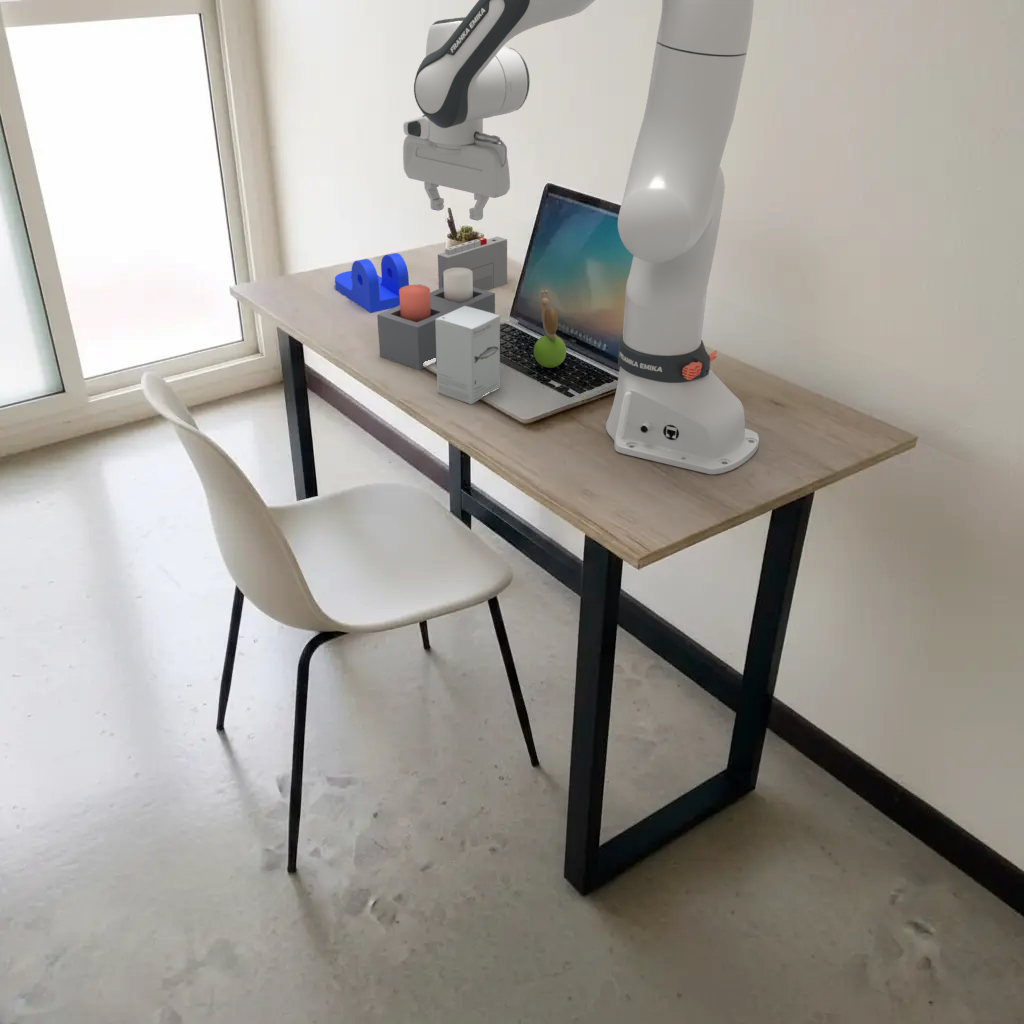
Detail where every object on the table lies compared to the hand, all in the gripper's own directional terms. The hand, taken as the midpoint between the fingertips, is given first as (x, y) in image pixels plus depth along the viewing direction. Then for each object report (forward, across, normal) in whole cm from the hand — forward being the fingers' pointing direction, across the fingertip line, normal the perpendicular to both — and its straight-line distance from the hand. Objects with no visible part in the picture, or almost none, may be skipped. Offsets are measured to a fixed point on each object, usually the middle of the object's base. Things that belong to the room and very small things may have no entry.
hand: (456, 214), depth 175 cm
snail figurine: (+22, -20, 0) cm, 30 cm away
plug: (+17, 0, 0) cm, 17 cm away
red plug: (+16, 0, +11) cm, 20 cm away
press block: (+22, 0, +5) cm, 22 cm away
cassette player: (+22, +12, -18) cm, 31 cm away
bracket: (+22, +27, -5) cm, 35 cm away
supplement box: (+22, -16, +16) cm, 32 cm away
